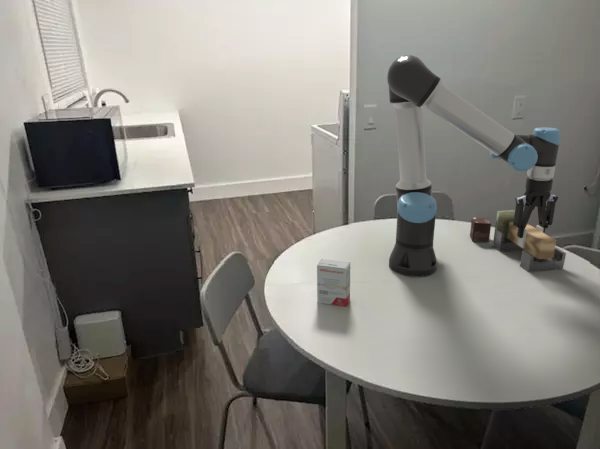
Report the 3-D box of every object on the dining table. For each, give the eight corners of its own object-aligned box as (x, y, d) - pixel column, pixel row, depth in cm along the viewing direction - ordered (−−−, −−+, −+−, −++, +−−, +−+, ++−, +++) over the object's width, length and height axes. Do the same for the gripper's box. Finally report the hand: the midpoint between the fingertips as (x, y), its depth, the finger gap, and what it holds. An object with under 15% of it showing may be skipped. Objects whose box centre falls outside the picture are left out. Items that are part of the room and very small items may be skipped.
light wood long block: (553, 257, 147) (556, 240, 145) (538, 259, 147) (541, 241, 144) (520, 237, 164) (523, 221, 162) (507, 238, 163) (509, 222, 161)
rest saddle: (528, 272, 147) (531, 256, 145) (519, 265, 151) (522, 250, 149) (563, 268, 148) (566, 253, 146) (553, 262, 152) (556, 247, 151)
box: (489, 242, 170) (491, 223, 167) (471, 241, 171) (473, 222, 168) (486, 236, 175) (488, 218, 173) (469, 235, 176) (471, 217, 174)
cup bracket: (499, 251, 162) (504, 216, 157) (491, 245, 167) (496, 211, 162) (531, 248, 164) (537, 213, 159) (522, 243, 168) (527, 208, 164)
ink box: (350, 299, 133) (351, 261, 128) (346, 307, 128) (347, 268, 124) (321, 294, 135) (321, 257, 131) (316, 302, 131) (316, 264, 127)
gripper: (520, 182, 142) (510, 252, 150) (574, 178, 145) (561, 247, 153) (506, 176, 149) (497, 243, 157) (558, 173, 152) (546, 239, 160)
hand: (529, 245), depth 155 cm, fingers closed on light wood long block, 5 cm apart
